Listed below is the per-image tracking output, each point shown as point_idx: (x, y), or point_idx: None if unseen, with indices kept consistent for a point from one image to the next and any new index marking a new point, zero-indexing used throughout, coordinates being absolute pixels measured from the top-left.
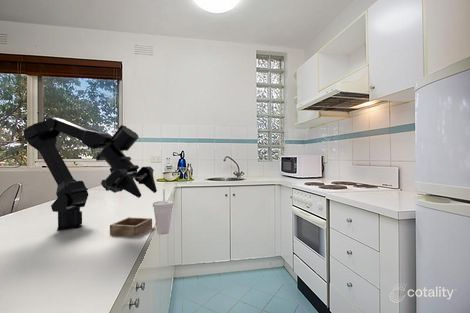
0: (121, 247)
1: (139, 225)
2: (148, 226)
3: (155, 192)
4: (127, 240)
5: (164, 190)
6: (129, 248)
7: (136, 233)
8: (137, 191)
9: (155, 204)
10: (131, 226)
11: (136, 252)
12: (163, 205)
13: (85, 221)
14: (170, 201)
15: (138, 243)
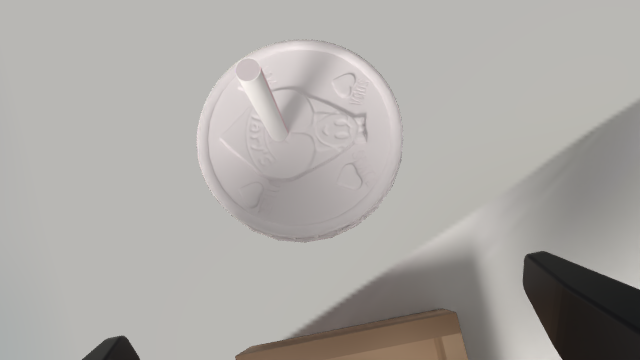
0: (613, 247)
1: (412, 321)
2: (297, 339)
3: (130, 353)
4: (519, 304)
5: (256, 67)
6: (600, 193)
7: (442, 310)
8: (611, 285)
9: (400, 143)
10: (465, 354)
11: (618, 119)
12: (370, 74)
13: None
14: (213, 107)
15: (524, 202)
